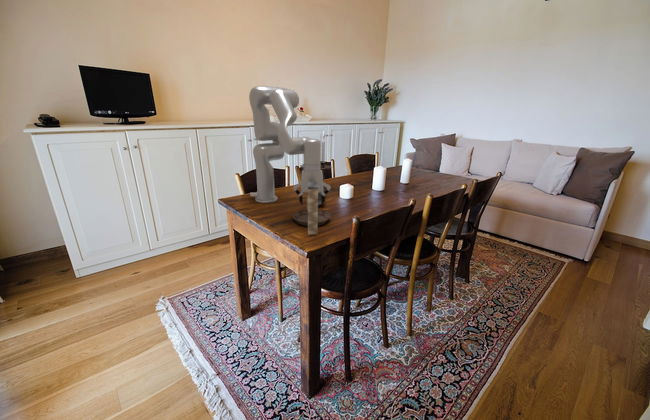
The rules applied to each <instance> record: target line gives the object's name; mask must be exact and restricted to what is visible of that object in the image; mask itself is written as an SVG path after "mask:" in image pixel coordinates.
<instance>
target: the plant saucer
mask: <svg viewBox="0 0 650 420" xmlns="http://www.w3.org/2000/svg"><path fill="white" fill-rule="evenodd" d="M292 218H293V219H294V220H295V222H296V223H298V225H299V224H300V225H302V226H306V227H308V209H307V208H306V209H301V210H297V211H295V212H294V213H293V214H292ZM330 218H331V214H330V213H329V212H328V211H325V210H321V209H318V226H322V225H324V224H325V223H327V222H328V220H329V219H330ZM318 226H317V227H318Z"/></svg>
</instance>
